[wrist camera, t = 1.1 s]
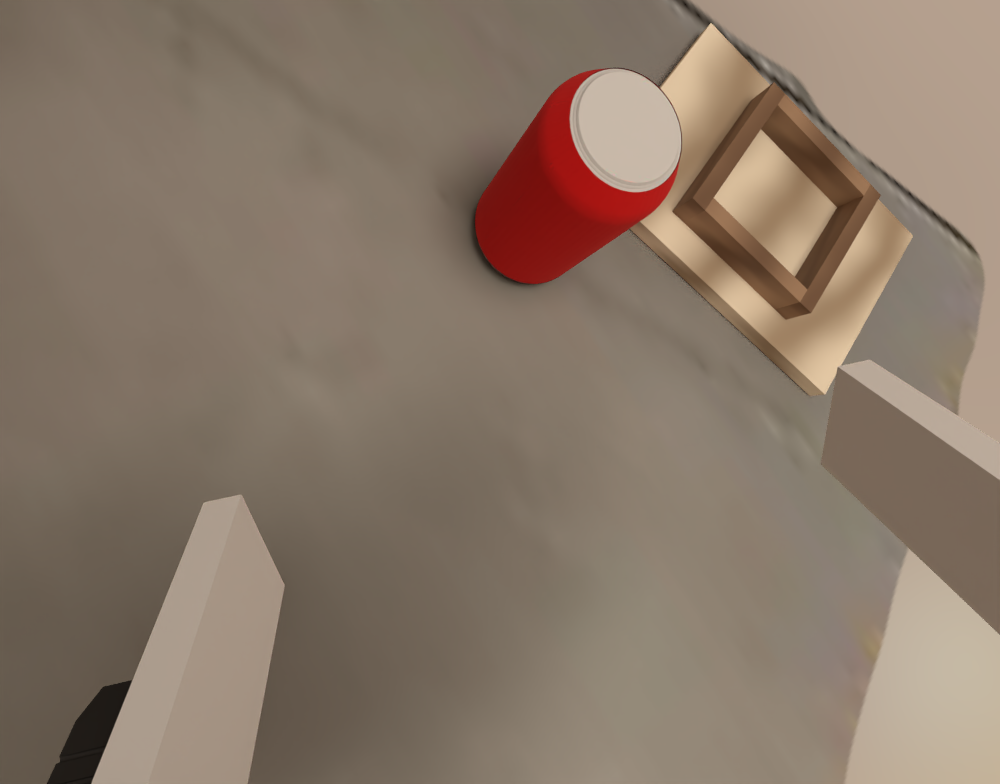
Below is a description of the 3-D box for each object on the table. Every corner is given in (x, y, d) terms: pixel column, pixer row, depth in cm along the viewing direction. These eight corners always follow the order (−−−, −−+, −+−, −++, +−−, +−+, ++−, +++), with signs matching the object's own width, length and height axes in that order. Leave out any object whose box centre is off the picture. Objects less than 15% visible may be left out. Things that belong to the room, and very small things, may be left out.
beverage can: (469, 284, 32) (555, 197, 21) (469, 174, 33) (553, 31, 22) (572, 293, 34) (703, 217, 23) (571, 188, 35) (698, 63, 23)
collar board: (582, 185, 35) (608, 160, 32) (699, 35, 39) (732, 0, 36) (809, 395, 39) (852, 391, 36) (896, 241, 42) (942, 225, 39)
